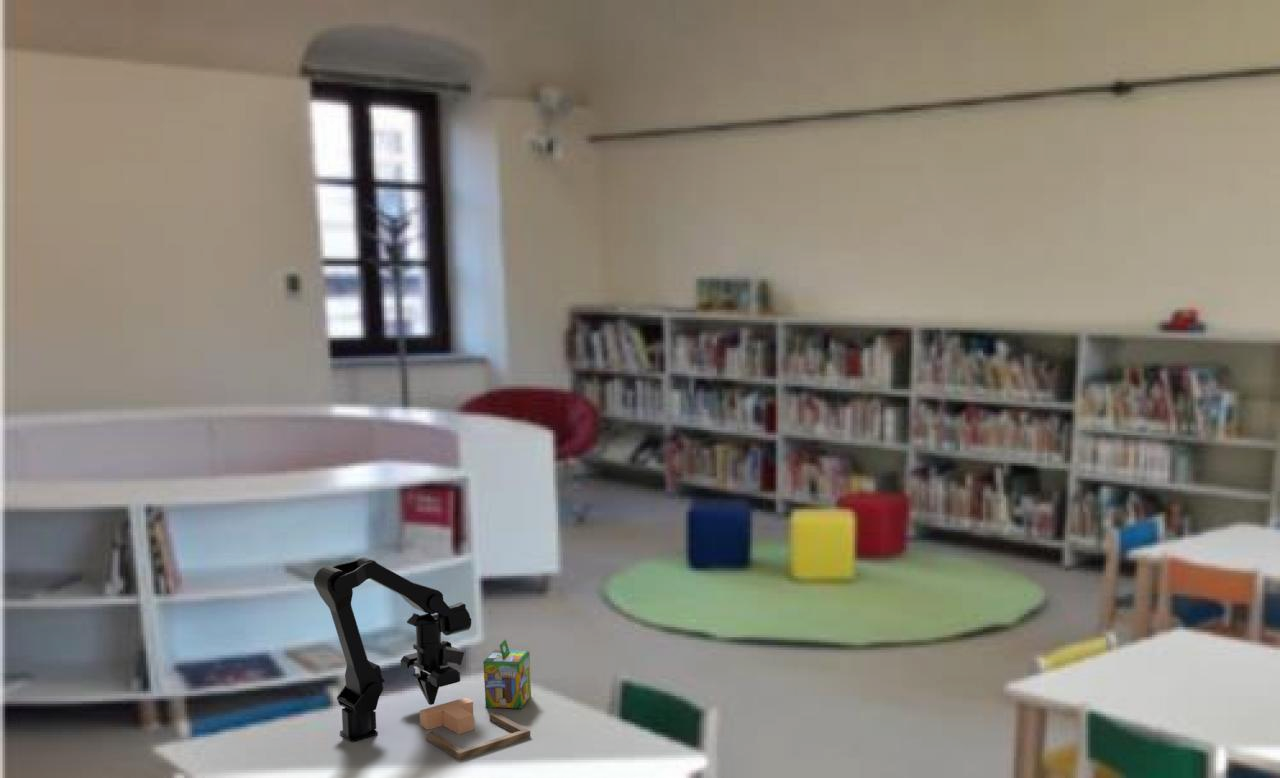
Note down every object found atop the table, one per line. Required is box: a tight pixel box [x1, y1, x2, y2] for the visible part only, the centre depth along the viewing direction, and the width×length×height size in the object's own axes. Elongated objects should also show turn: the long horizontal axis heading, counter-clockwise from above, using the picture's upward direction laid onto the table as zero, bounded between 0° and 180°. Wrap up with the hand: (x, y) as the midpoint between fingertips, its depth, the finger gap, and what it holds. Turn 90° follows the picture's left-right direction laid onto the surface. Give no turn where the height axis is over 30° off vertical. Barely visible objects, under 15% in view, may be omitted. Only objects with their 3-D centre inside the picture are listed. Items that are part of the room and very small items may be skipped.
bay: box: [425, 711, 531, 761], centre depth 249 cm, size 18×14×2 cm
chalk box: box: [482, 639, 532, 709], centre depth 270 cm, size 9×9×15 cm
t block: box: [419, 697, 475, 735], centre depth 257 cm, size 12×10×4 cm
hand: (431, 704), depth 266 cm, fingers closed
